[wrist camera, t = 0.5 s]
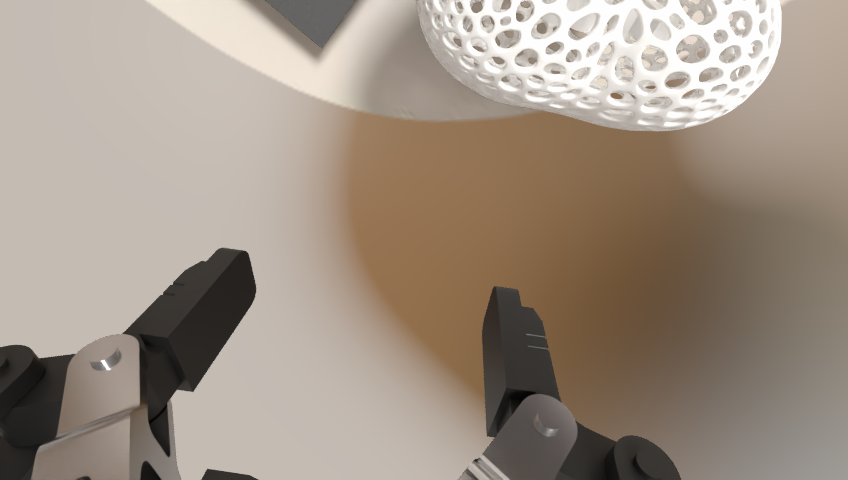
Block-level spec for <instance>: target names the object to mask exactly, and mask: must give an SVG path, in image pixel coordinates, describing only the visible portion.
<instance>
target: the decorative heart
mask: <svg viewBox="0 0 848 480" xmlns="http://www.w3.org/2000/svg"><path fill="white" fill-rule="evenodd" d="M524 1H528V2H530V3H531V6H530V7H529V8H523V7H521V5H520V4H521V2H524ZM458 2H461V3H462V6H463V8H462V9H460V8H458V6H457V3H458ZM477 2H482V7H483V9H482V10H481V11H480V12H478V13H473V12H472V10H471V9H472V6H473V4H475V3H477ZM510 2H511V6H510V8H509V9H506V10H503V9H501V6H502V3H503V0H416V3H417V11H418V17H419V22H420V25H421V28H422V32H423V34H424V37H425V39H426V41H427V43H428V45H429V47H430V49H431V51H432V52H433V54H434V56H435V57H436V59H437V60H438V61H439V62H440V64H441V65H442V66H443V67H444V68H445V69H446V70H447V71H448V72H449V73H450V74H451V75H452V76H453V77H454V78H455V79H457V80H458V81H459V82H460V83H462V84H463V85H465V86H467V87H469V88H470V89H472V90H474V91H475V92H477V93H478V94H480V95H482V96H484V97H486V98H488V99H491V100H494V101H497V102H500V103H504V104H508V105H513V106H519V107H525V108H531V109H537V110H543V111H548V112H553V113H557V114H562V115H565V116H569V117H572V118H576V119H579V120H583V121H586V122H590V123H593V124H597V125H601V126H606V127H611V128H617V129H624V130H632V131H669V130H677V129H683V128H688V127H692V126H696V125H700V124H703V123H706V122H708V121H711V120H714V119H716V118H718V117H720V116H722V115H724V114H726V113H728V112H729V111H731V110H733V109H734V108H736V107H737V106H739V105H740V104H741V103H743V102H744V101H745V100H746V99H747V98H748V97H749V96H750V95H751V94H752V93H753V92H754V91H755V90H756V89H757V88H758V87H759V86H760V85H761V84H762V82H763V81H764V80H765V78H766V77H767V75H768V74H769V72H770V71H771V69H772V67H773V65H774V62H775V59H776V56H777V53H778V49H779V46H780V42H781V8H780V3H779V0H700V3H699V4H695V3H694V2H692V1H690V0H510ZM684 5H686V6H687V7H688V12H687V13H685V12H684V10H683V6H684ZM532 9H533V13H532V15H531V11H532ZM710 9H711V10H710ZM697 10H700V11H701V12H702V13H703V15H704V19H703V21H702V22H700V23H698V24H697V23H695V22H694V21H692V20H691V18H692V16H693V14H694V13H695V12H696V11H697ZM516 13H520V14H522V15H523V19H522V21H521V22H518V21H517V20H516ZM730 13H732V14H733V20H732V21H730V20H728V16H729V14H730ZM438 15H440V21H439V20H438ZM451 15H452V16H453V17H452V20H451V19H450V17H451ZM490 17H491V18H492V19H493V21H494V25H493V24H492V23H491V21H490ZM465 18H466V22H465V23H464V22H463V20H464V19H465ZM509 18H510V19H509ZM743 18H744V20H745V23H746V28H745V27H744V26H743V25H742V19H743ZM500 20H501V21H502V24H500ZM510 20H511V21H510ZM482 21H483V22H484V24H485V27H483V25H482ZM539 23H545V24H546V27H547V32H546V33H545V34H540V33H538V32H537V29H536V27H537V25H538V24H539ZM471 24H473V27H472V30H471V32H467V30H468V27H469V26H470V25H471ZM606 24H608V27H607V32H606V33H605V34H604V35H603V31H604V28H605V26H606ZM679 24H681V27H680V28H679V29H676V28H677V27H678V25H679ZM731 26H733V27H734V28H735V30H736V32H735V33H734V32H733V31H732V29H731ZM554 27H557V28H556V29H555V30H554V32H553V28H554ZM569 28H572V29H574V30H577V31H580V32H583V33H588V34H587V35H586V36H585V37H584V38H583V39H580V38H578V37H576V36H575V35H574V34H573V33H572V32H571V31H570V29H569ZM507 30H511V31H512V32H513V37H512V38H508V37H506V36H505V34H504V31H507ZM715 31H717V33H714V32H715ZM742 35H743V36H742ZM630 36H631V37H633V38H634V39H635V40H636V41H633V40H632V39H631V38H630ZM687 36H695V37H697V38H698V40H697V41H696V42H695V43H694V44H691V45H689V44H686V43H685V41H684V38H685V37H687ZM741 36H742V37H741ZM496 37H497V38H498V39H499V41H500V46H498V45H497V44H496V42H495V38H496ZM453 38H456V39H460V40H461V46H458V45H456V44H455V42H454V40H453ZM721 38H722V41H721ZM553 42H557V43H558V44H559V45H560V48H559V50H558V51H553V50H551V49H549V48H548V47H547V46H548V45H550V44H551V43H553ZM511 44H515V45H514V46H512V47H510V48H508V46H509V45H511ZM607 45H610V46H611V48H612V51H611V53H609V54H602V52H603V50H604V49H605V47H606V46H607ZM753 45H755V53H754V52H753V51H752V47H753ZM473 46H479V47H480V48H482V49H483V51H484V52H480V51H477V50H476V49H474V48H473ZM702 47H704V48H706V55H705V57H704V58H702V59H701V58H698V56H697V51H698V49H699V48H702ZM645 48H649V49H653V50H657V52H656V53H655V54H652V55H647V54H645V53H643V51H644V49H645ZM734 49H735V53H734V51H733V50H734ZM571 50H577V56H575V55H574V54H573V53H572V52H571ZM587 50H588V51H589V52H590V55H589V56H588V57H587V58H586V52H587ZM684 50H686V51H688V52H689V57H688V59H686V60H685V61H681V60H680V59H679V58H678V57H677V54H678V53H680V52H681V51H684ZM723 50H725V52H724V54H723V55H721V56H719V54H720V53H721V52H722V51H723ZM521 51H523V55H521V56H517V54H518V53H520V52H521ZM465 55H467V56H468V57H469V58H468V57H466V56H465ZM492 57H500V58H502V59H503V60H504V63H503V64H500V65H499V64H496V63H495V62H494V60H493V58H492ZM661 57H665V58H666V62H660V63H659V62H656V60H657V59H658V58H661ZM731 57H734V59H733V60H732V61H731V62H729V63H728V59H730V58H731ZM750 57H751V58H750ZM528 58H535V59H536V62H535V63H534V64H533V65H532V64H530V63H529V61H528ZM621 58H624V60H625V61H624V62H623V63H618V61H619V59H621ZM641 58H642V59H644V60H646V61H648V62H649V63H650V64H651V66H650V67H646V68H644V67H643V66H642V63H641ZM566 59H567V60H570V61H572V62H567V61H566ZM601 61H605V62H606V63H605V64H604V65H599V63H600V62H601ZM631 62H632V63H631ZM474 63H476V64H477V65H476V64H474ZM516 64H519V65H521V66H522V67H521V66H518V65H516ZM711 67H712V68H716V69H710V68H711ZM584 68H587V70H585V69H584ZM614 68H615V70H616V72H615V73H614ZM740 68H744V72H743V74H742V75H741V76H738V71H739V69H740ZM622 69H629V70H631V71H633V73H632V74H627V73H625V72H623V71H622ZM659 69H660V70H659ZM756 70H757V71H756ZM551 71H558V72H560V73H559V74H552V73H551ZM705 74H708V75H712V77H711V79H710V80H708V81H706V82H699V78H698V77H699V76H701V75H705ZM532 75H537V76H540V77H541V78H542V79H541V80H539V79H537V78H535V77H533V76H532ZM505 76H506V78H507V79H508V81H509V82H503V81H502V80H501V79H502V78H503V77H505ZM578 77H582V78H581V79H579V78H578ZM517 78H519V79H520V80H521V81H520V80H518V79H517ZM599 78H604V79H606V81H607V86H600V85H598V84H597V82H596V81H597V80H598V79H599ZM678 78H684V79H686V80H685V82H684V83H683V84H681V85H680V86H677V87H669V86H667V85H666V84H665V83H666V82H667V81H669V80H672V79H678ZM622 79H623V80H629V81H628V82H624V81H621V80H622ZM720 84H722V86H720V87H716V86H717V85H720ZM488 85H490V86H488ZM647 86H656V88H655V89H646V88H645V87H647ZM711 89H712V92H710V91H711ZM690 90H694V92H693V93H692V94H691V95H690V96H687V97H682V95H684V94H685V93H686V92H688V91H690ZM528 91H530V92H533V93H534V94H533V93H528ZM566 91H571V92H572V93H566ZM613 92H614V93H618V94H620V95H622V97H623V98H622V99H614V98H612V97H611V96H610V94H611V93H613ZM727 92H728V94H727V95H725V94H726V93H727ZM630 95H634V96H635V98H633V97H631V96H630ZM724 95H725V96H724ZM657 97H667V98H657ZM581 98H584V99H585V100H583V99H581ZM649 103H655V104H656V105H651V104H649ZM618 110H619V111H618Z"/></svg>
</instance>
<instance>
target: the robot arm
mask: <svg viewBox="0 0 848 480" xmlns="http://www.w3.org/2000/svg"><path fill="white" fill-rule="evenodd" d="M255 294H256V284H255V280H254V275H253V271H252V266H251V262H250V258H249V254H248V253H247V252H246V251H242V250H235V249H228V248H220V249H218V250H217V251H216V252H215V253H214V254H213V255H212V256H211V257H210V258H209V260H207V261H206V262H205V261H201V262H199V263H197V264H195V265H194V266H192V267H190V268H188V269H187V270H185V271H184V272H183V273H182V274H181V275H180V276H179V277H178V278H177V279H176V280H175V281H174V282H173V285H170V286H169V287H168V288H167V289H166V290H165V291H164V292H163V295H160V296H159V297H158V298H157V299H156V300H155V301H154V302H153V303H152V304H151V306H149V307H148V308H147V310H146V311H145V312H144V313H143V314H142V315H141V316H140V317H139V318H138V319H137V320H136V321H135V322H134V323H133V324H132V325H131V326H130V327H129V328H128V329H127V330H126V331H125V332H124V333H123V334H116V335H110V336H106V337H103V338H100V339H98V340H95V341H94V342H92V343H90V344H88V345H86V346H85V347H83V348H82V349H81V350H80V351H78V353H77V354H71V355H63V356H55V357H48V358H38V357H37V356H36V354H35V353H34V352H33V351H32V350H31V349H30V348H29V347H26V346H23V345H10V346H5V347H0V480H181V477H180V474H179V471H178V467H177V461H176V449H175V436H174V424H173V412H172V403H171V400H170V398H171V397H172V395H173V394H174V393H175V391H176V390H184V391H191V392H193V391H194V390H195V388H196V387H197V385H198V384H199V382H200V381H201V379H202V378H203V376H204V375H205V373H206V372H207V370H208V368H209V367H210V366H211V364H212V363H213V361H214V360H215V358H216V357H217V355H218V354H219V352H220V351H221V349H222V348H223V347H224V345H225V344H226V342H227V341H228V339H229V338H230V336H231V335H232V333H233V332H234V330H235V329H236V327H237V326H238V324H239V323H240V321H241V320H242V318H243V317H244V315H245V314H246V312H247V311H248V309H249V308H250V306H251V305H252V303H253V301H254V298H255ZM482 344H483V365H484V387H485V406H486V407H485V408H486V429H487V436H489V437H495V438H494V439H493V441H492V442H491V443H490V445H489V446H488V447H487V449H486V450H485V451H484V453H483V454H482V455H481V456H480V457H479V458H478V459H475V460H474V461H473V462H472V463H471V464H470V465H469V466H468V467H467V469H466V470H465V471H464V472H463V474H462V475H461V476H460V478H459V479H458V480H681V478H680V475H679V473H678V471H677V468H676V467H675V465H674V463H673V462H672V461H671V459H670V458H669V457H668V456H667V454H666V453H665V452H664V451H663V450H661V449H660V448H659V447H658V446H657V445H655V444H653V443H652V442H650V441H649V440H647V439H644V438H642V437H638V436H625V437H622V438H621V439H619V440H618V441H617V442H615V441H613V440H611V439H609V438H607V437H605V436H602V435H600V434H598V433H596V432H594V431H592V430H589V429H588V428H585V427H584V426H582V425H581V424H580V423H578V422H577V421H576V420H575V419H574V417H573V415H572V414H571V412H570V411H569V410H568V408H567V407H565V405H564V404H562V402H561V400H560V396H559V392H558V388H557V384H556V379H555V375H554V370H553V366H552V362H551V357H550V353H549V351H548V344H547V340H546V339H545V331H544V327H543V323H542V320H541V319H540V318H539V316H538V315H537V313H536V312H535V311H534V309H533V308H529V307H522V306H521V301H520V296H519V291H518V290H517V289H511V288H504V287H497V286H494V287H493V290H492V293H491V296H490V300H489V303H488V307H487V310H486V314H485V317H484V322H483V330H482ZM202 480H258V479H256V478H254V477H252V476H250V475H244V474H238V473H231V472H224V471H218V470H211V469H207V470H206V472H205V474H204V476H203V478H202Z"/></svg>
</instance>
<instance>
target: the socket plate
mask: <svg viewBox="0 0 848 480" xmlns="http://www.w3.org/2000/svg"><path fill="white" fill-rule="evenodd" d="M266 1H267V2H268V3H269V4H270V5H271V6H273V7H274V8H275V9H276V10H277V11H278V12H280V13H281V14H282V15H283V16H284V17H285V18H287V19H288V20H289V21H290V22H291V23H293V24H294V25H295V26H296V27H297V28H298V29H300V30H301V31H302V32H303V33H304V34H305V35H307V36H308V37H309V38H310V39H311V40H312V41H314V42H315V43H316V44H317V45H318V46H319V47H321V48H322V47H323V46H324V44H325V43H326V42H327V40H328V39H329V37H330V36H331V34H332V33H333V32H334V30H335V29H336V27H337V26H338V24H339V23H340V22H341V20H342V19H343V17H344V16H345V14H346V13H347V12H348V10H349V9H350V7H351V6H352V4H353V3H354V2H355V0H266Z"/></svg>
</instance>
